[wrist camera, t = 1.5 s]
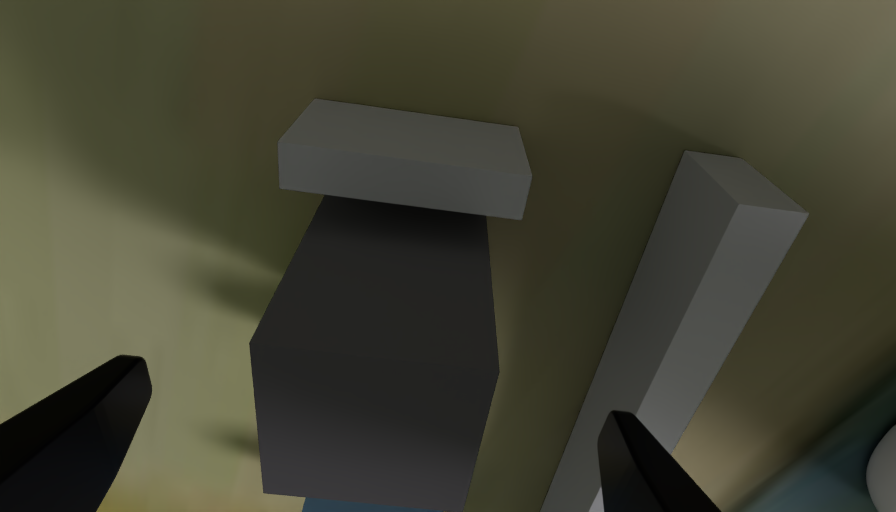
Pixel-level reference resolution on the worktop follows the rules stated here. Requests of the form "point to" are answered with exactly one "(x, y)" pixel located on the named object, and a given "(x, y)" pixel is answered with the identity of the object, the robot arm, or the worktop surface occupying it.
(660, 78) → the worktop surface
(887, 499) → the fruit juice
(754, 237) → the grey and blue blocks
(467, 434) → the dark grey rectangular block
